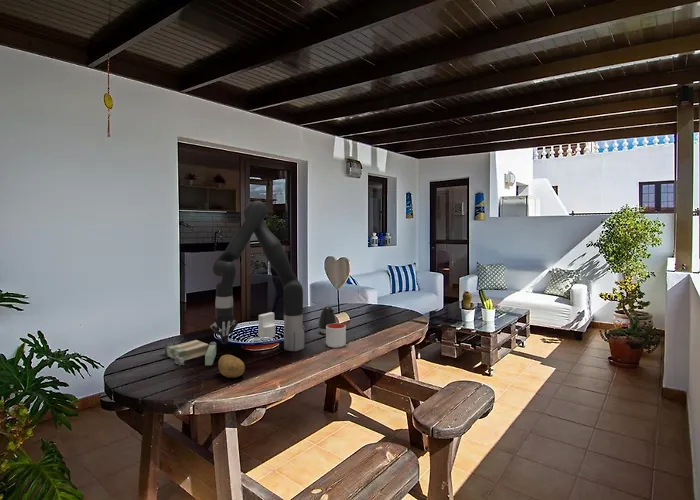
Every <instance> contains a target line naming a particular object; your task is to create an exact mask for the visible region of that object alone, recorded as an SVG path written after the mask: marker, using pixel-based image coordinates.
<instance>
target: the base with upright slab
mask: <svg viewBox="0 0 700 500" xmlns="http://www.w3.org/2000/svg"><path fill="white" fill-rule="evenodd" d="M257 326H258V328H257V329H258V331H257V333H258V335H257V336H259V337H258V338H260V337H272V338H274V337H276V324H275V312H272V311H270V312H267V313H266V312H265V313H261V314H259V315H258V325H257ZM273 336H274V337H273Z"/></svg>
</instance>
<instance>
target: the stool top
mask: <svg viewBox="0 0 700 500" xmlns="http://www.w3.org/2000/svg"><path fill="white" fill-rule="evenodd" d="M209 345H210V343H209V344H208V343H206V342H203V341H200V340H198V339H194V340H190V341H185V342H182V343H178V344H174V345H173V344H172V342H165V343H164V355H165V356H166V357H169V358H171V359H174V364H175V363H176V365H177V364H178V366H180V367H182V366H181V365H183V366H185V361H188V360H191V359H194V358H195V359H196V358H198V357H202V356H205V354H206V352H207V350H208V348H209Z"/></svg>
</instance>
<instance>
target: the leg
mask: <svg viewBox="0 0 700 500" xmlns="http://www.w3.org/2000/svg"><path fill="white" fill-rule="evenodd" d="M216 355H217V342H216V341H211V342H209V348H208V350H207V352H206V354H205V355H204V366H212V365H214V361H215V358H216Z"/></svg>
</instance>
